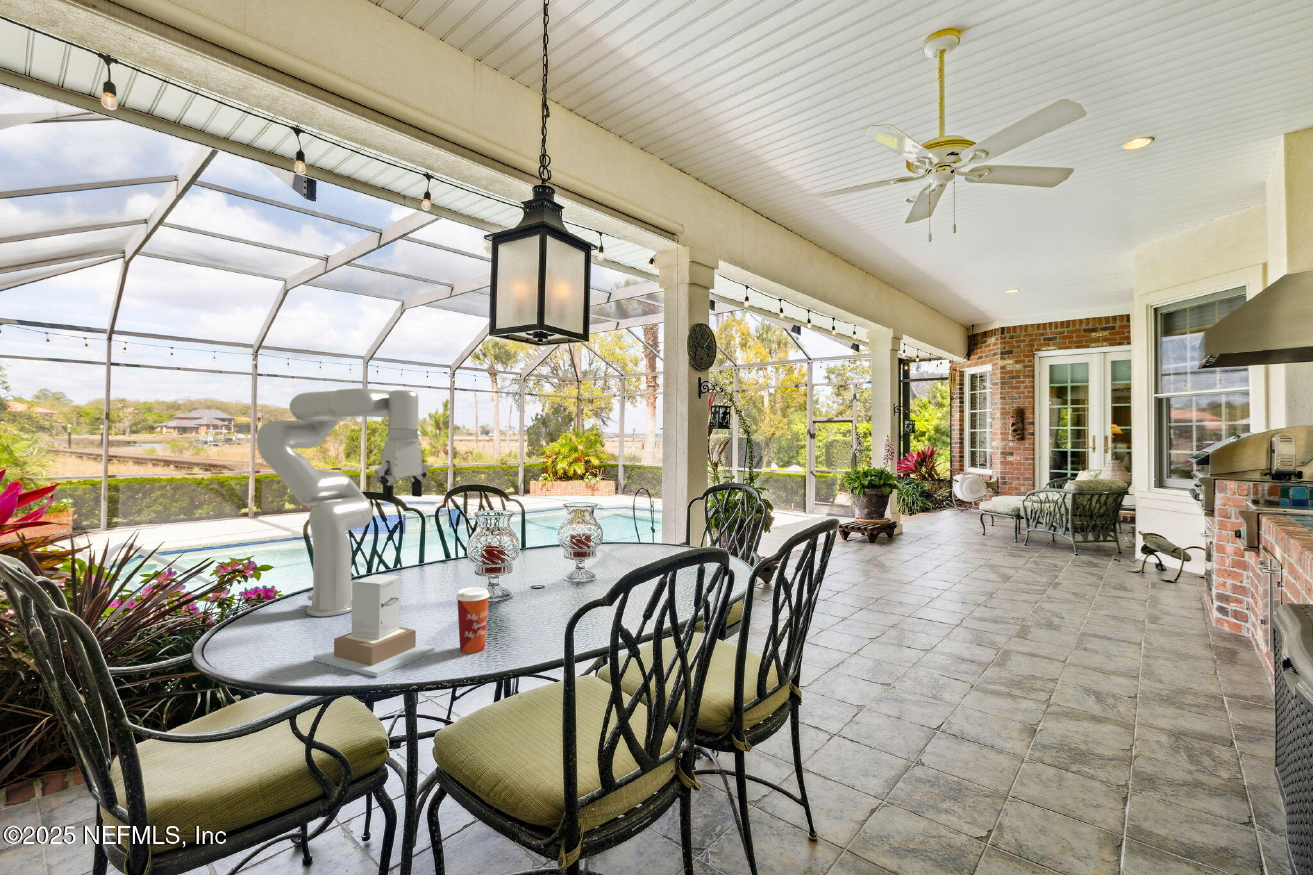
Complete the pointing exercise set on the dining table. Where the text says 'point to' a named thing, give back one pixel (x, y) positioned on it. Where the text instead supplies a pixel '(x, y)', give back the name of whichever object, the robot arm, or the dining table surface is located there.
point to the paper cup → (472, 618)
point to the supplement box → (375, 606)
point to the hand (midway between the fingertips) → (402, 498)
